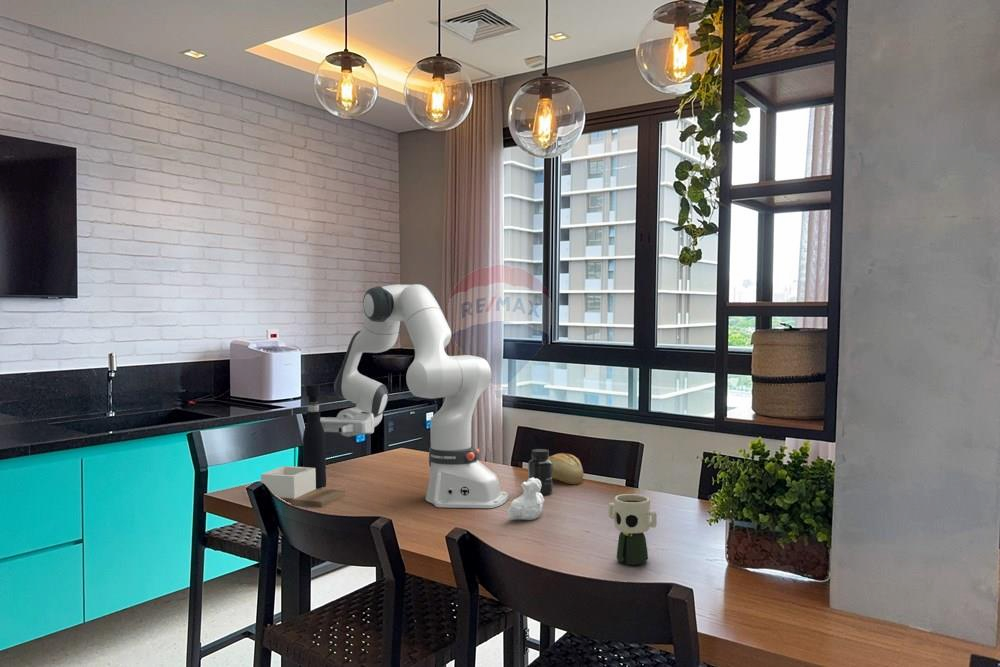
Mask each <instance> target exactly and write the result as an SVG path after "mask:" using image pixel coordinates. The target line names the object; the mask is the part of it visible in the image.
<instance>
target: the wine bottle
mask: <svg viewBox="0 0 1000 667" xmlns="http://www.w3.org/2000/svg"><path fill="white" fill-rule="evenodd" d="M305 388H306V389H305V390H306V392H305V393H306V395H305V396H306V397H307V398H308V405H307V411H306V424H305V427H304V429H303V435H302V461H303V463H302V464H303V465H302V467H308V468H315V472H316V488H319V489H323V488H325V487H327V462H326V461H327V458H326V454H327V453H326V452H327V451H326V432H324V429H323V426H322V423H321V421H320V418H321V411H320V405H319V404H318V403H319V400H318V397H320V396H321V385H320V384H307V385H306V386H305ZM322 487H323V488H322Z"/></svg>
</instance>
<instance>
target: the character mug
mask: <svg viewBox="0 0 1000 667" xmlns="http://www.w3.org/2000/svg"><path fill="white" fill-rule="evenodd" d="M657 516H658V514H657V512H656V511H654V510H651V502H650V497H648V496H646V495H642V494H638V493H637V494H636V493H623V494H617V495H615V497H614V502H608V518H610V519H612V520H613V523H614V527H615V529H616V530H618V532H619V535H618V542H617V549H616V560H617V561H618V562H620V563H623V561H624V560H625V561H626V564H627V565H641V564H643V563H645V562H647V561H648V560H649V552H648V545H647V539H646V536H645V532H647V531H649V530H650V528H653V529H654V528H656V527H657V524H658V523H657ZM623 559H624V560H623Z"/></svg>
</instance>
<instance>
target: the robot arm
mask: <svg viewBox="0 0 1000 667" xmlns="http://www.w3.org/2000/svg"><path fill="white" fill-rule="evenodd" d="M362 306H363V313H364V315H365V318H364V324H363V327H362V329H361V330H359V331H356V333H354V335H353V336H352V337H351V339H350V341H349V344H348V347H347V349H346V352H345V356H344V358H343V361H342V364H341V367H340V369H339V372H338V374H337V376H336V378H335V380H334V383H333V388H334V392H335V395H336V396H337V397H338V398H340V399H343V400H344V401H345V400H346V401H348V402H351V403H353V404H356V405H355V406H353V407H350V408H346V409H343V410H340V411H339V412H338V413H337V415H336V417H331V416H328V417H325V416H324V417H321V416H320V421H321V423H322V426H323V429H324V433H339V434H341V435H342V436H343V437H349V438H350V437H353V436H358V435H370V434H373V433H374V432H375V427H377V426H378V425H379V424H380V423H381V421H382V419H383V415H384V414H383V413H384V412H385V409H386V408H387V405H388V402H389V399H390V398H389V391H388V389H387V386H386V385H385V384H383V383H382V382H379V381H377V380H375V379H372V378H370V377H368V376H366V375H363V374H362V373H360V372H359V370H358V366H359V363H360V361H361V357H362V355H363V353H369V354H371V353H372V354H378V353H383V352H387V351H389V350H390V349H392V348H393V347H394V346H395V345H396V342H397V340H398V336H399V332H400V326H401V322H403V323H404V325H405V327H406V330H407V332H408V335H409V337H410V339H411V342H412V345H413V348H414V359H413V361H412V362H411V363H410V364H409V366H408V369H407V371H406V376H405V377H406V378H405V380H406V386H407V388H408V390H409V392H410V393H411V394H412V395H413V396H414V397H418V398H424V399H441V398H444V401H443V403H442V406H441V407H440V409H439V410H438V411H436V413H434V414H433V416H432V417H431V419H430V427H429V428H430V429H429V430H430V432H429V433H430V447H429V448H428V449H429V450H428V461H429V462H428V463H429V465H428V466H429V468H430V469H429V480H428V488H427V490H426V496H425V501H427V502H428V503H431V504H432V505H434V507H435V508H456V509H458V508H461V509H463V508H464V509H492V508H493V509H494V508H496V507H499V506H501V505H503V504H505V503H506V502H507V501H508V499H509V494H508V492H506V491H504V490H503V491H501V487H500V482H499V478H498V476H497V474H496V473H495V472H493V471H492V470H491V469H489V468H488V467H487V466H485V465H484V464H483V463H482V462H481V461H480V460H479V454H480V448H478V449H476V448H475V447H473V446H472V421H473V414H474V410H475V407H476V405H477V402H478V400H479V398H480V396H481V395H482V394H483V392H484V391H485V390H486V389H487V388H488V387H489V386H490V383H491V382H492V381H491V380H492V370H491V367H490V364H489V363H488V361H487V360H486V359H485V358H483V357H481V356H476V355H470V354H465V355H464V354H463V355H448V354H447V353H446V351H445V348H446V347H447V346H448V345H449V343H450V342H451V339H452V330H451V328H450V326H449V323H448V322H447V319H446V317H445V315H444V313H443V310H442V309H441V306H440V305H439V303H438V301H437V300H436V298H435V293H434V292H433V290H432V289H431V288H430V287H429V286H428V285H424V284H419V283H415V284H389V285H384V286H380V285H377V286H375V287H374V286H373V287H371V288H368V289H367V290H366V292H365V293H364V296H363V300H362Z"/></svg>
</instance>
